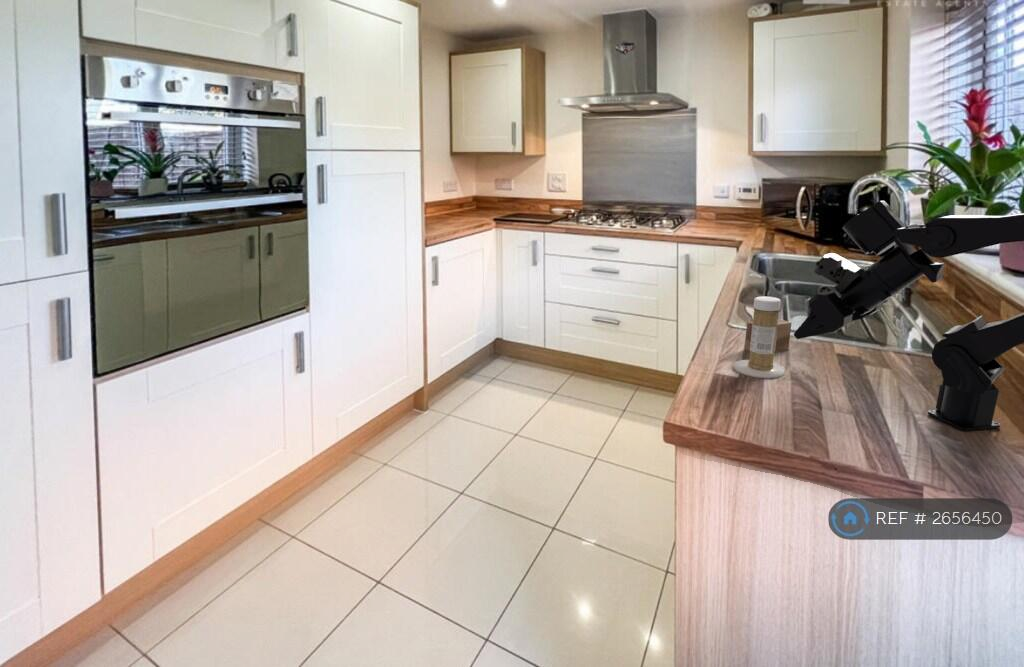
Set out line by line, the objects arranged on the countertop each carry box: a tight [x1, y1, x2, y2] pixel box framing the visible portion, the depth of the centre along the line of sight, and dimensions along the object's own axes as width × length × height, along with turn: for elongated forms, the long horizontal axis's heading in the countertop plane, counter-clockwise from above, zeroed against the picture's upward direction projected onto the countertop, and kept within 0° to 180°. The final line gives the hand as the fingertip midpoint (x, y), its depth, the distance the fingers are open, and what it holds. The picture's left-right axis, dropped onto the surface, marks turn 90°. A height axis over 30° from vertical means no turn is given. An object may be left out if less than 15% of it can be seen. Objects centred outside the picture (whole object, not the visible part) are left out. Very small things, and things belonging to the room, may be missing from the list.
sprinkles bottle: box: [748, 295, 782, 370], centre depth 109 cm, size 5×5×14 cm
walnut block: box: [744, 318, 792, 353], centre depth 123 cm, size 4×8×6 cm, turn 112°
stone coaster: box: [733, 359, 786, 379], centre depth 111 cm, size 9×9×1 cm
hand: (807, 331), depth 103 cm, fingers open, 9 cm apart
